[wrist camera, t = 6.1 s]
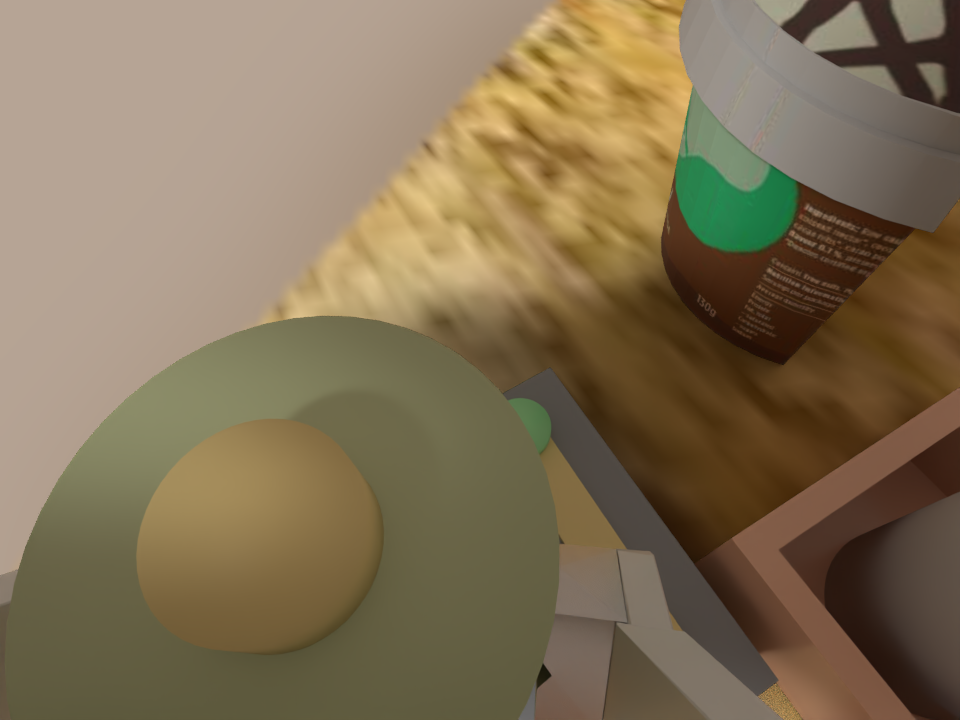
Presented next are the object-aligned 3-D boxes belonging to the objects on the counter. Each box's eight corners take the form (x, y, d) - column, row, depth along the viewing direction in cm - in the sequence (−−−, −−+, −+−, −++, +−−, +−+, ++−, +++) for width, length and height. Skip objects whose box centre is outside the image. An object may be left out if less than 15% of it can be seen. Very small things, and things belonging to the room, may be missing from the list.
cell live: (474, 504, 15) (396, 201, 6) (571, 674, 13) (708, 652, 4) (314, 597, 14) (-98, 425, 5) (393, 794, 12) (-46, 1181, 3)
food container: (670, 112, 25) (751, -196, 16) (823, 142, 24) (1002, -176, 15) (585, 346, 20) (638, 77, 11) (776, 404, 18) (1011, 148, 10)
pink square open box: (892, 432, 18) (971, 379, 15) (1146, 683, 14) (1318, 683, 11) (691, 565, 16) (731, 538, 13) (921, 881, 13) (1047, 944, 10)
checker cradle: (547, 402, 19) (551, 357, 16) (742, 680, 15) (790, 680, 12) (185, 605, 16) (122, 590, 14) (300, 1001, 12) (241, 1086, 10)
